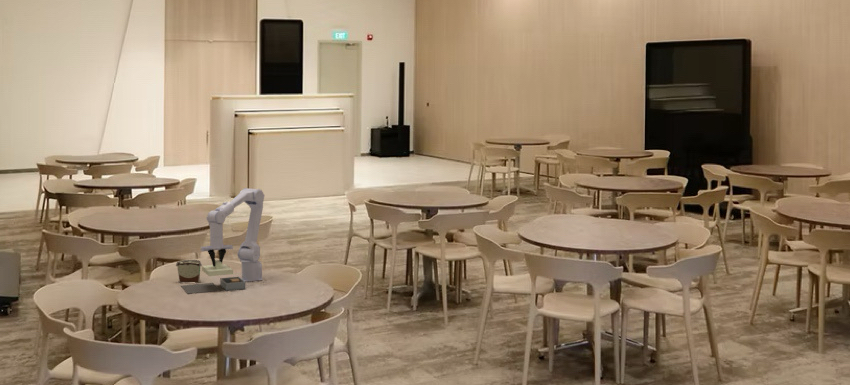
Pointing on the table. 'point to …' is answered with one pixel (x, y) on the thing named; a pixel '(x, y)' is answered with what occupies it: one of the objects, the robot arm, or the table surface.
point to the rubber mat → (200, 288)
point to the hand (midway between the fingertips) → (217, 265)
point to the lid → (217, 269)
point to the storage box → (232, 283)
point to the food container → (189, 270)
